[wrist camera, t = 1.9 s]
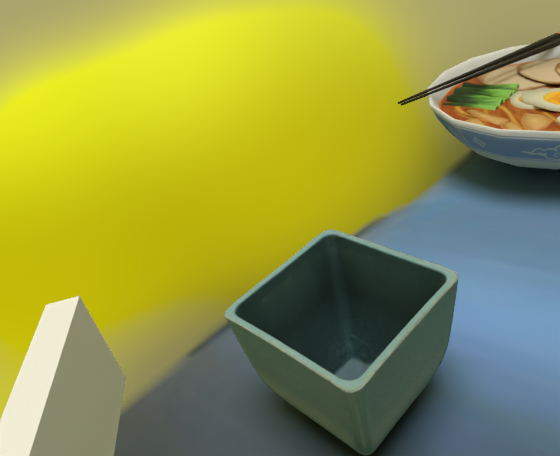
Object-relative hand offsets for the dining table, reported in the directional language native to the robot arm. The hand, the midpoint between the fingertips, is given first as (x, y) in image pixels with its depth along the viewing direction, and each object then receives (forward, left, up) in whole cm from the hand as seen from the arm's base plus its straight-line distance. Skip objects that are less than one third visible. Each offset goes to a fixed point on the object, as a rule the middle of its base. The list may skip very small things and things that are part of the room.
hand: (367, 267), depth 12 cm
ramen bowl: (-26, -32, -18) cm, 45 cm away
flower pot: (0, -10, -18) cm, 21 cm away
